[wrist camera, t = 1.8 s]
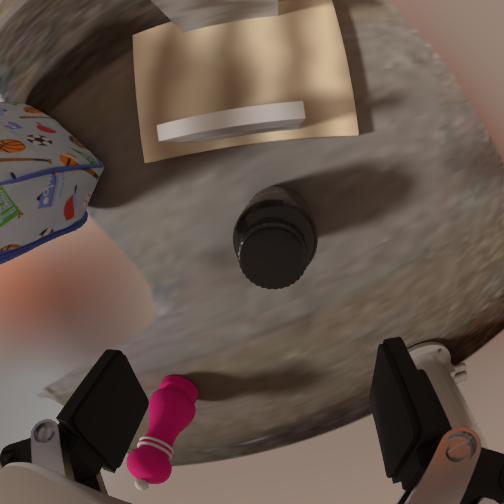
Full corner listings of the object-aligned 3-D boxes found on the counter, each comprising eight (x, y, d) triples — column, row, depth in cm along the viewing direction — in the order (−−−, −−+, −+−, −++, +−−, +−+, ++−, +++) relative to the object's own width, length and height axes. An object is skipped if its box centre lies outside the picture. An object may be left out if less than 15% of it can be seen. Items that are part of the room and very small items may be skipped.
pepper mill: (210, 394, 41) (179, 501, 22) (182, 405, 43) (147, 500, 24) (177, 366, 39) (129, 475, 20) (151, 380, 41) (104, 475, 23)
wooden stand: (329, 7, 21) (346, -46, 10) (353, 136, 26) (393, 129, 16) (140, 40, 24) (88, 9, 14) (152, 162, 29) (95, 171, 19)
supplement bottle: (266, 172, 28) (256, 186, 17) (321, 207, 29) (345, 242, 18) (234, 226, 31) (206, 272, 20) (287, 258, 31) (288, 318, 20)
